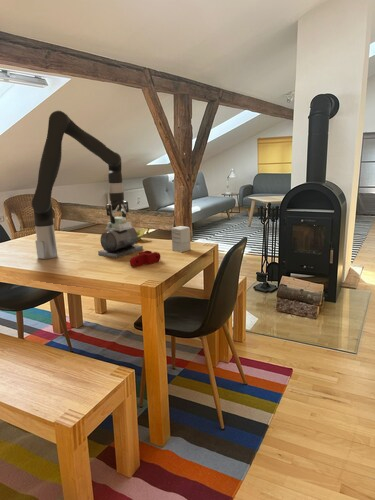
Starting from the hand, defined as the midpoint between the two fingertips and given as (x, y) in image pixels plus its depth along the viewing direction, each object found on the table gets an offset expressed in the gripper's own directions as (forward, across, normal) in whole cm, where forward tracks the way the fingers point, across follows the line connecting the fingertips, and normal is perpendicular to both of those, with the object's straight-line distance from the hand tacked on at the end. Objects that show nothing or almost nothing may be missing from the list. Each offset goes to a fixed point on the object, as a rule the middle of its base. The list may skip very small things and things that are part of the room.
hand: (118, 222), depth 207 cm
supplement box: (+17, -19, +27) cm, 37 cm away
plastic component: (+17, -22, -14) cm, 31 cm away
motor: (+17, 0, 0) cm, 17 cm away
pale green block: (+3, 0, 0) cm, 3 cm away
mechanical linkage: (+17, +11, +26) cm, 33 cm away
